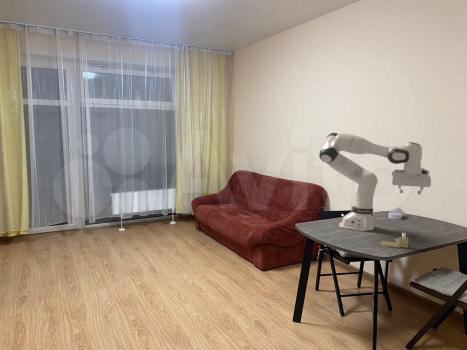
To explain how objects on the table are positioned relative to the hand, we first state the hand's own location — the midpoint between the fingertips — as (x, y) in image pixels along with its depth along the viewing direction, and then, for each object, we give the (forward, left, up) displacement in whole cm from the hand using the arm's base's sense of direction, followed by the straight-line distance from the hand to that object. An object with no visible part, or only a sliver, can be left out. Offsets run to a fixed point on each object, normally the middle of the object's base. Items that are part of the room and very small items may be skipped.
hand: (410, 193), depth 203 cm
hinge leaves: (-7, -7, -29) cm, 31 cm away
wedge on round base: (+1, +62, -29) cm, 69 cm away
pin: (-3, -11, -29) cm, 31 cm away
